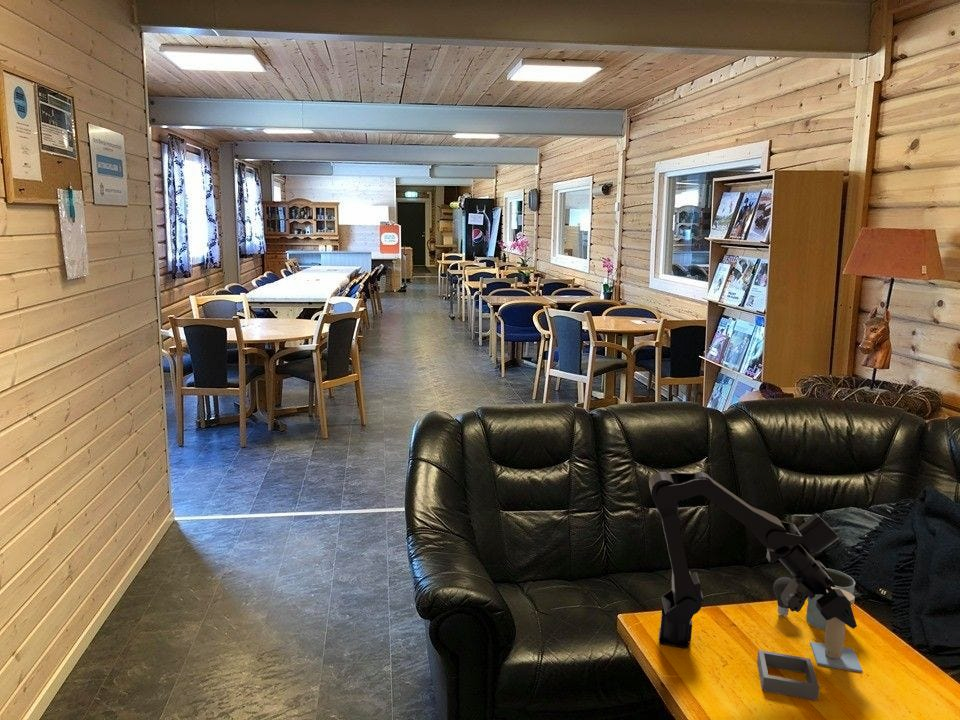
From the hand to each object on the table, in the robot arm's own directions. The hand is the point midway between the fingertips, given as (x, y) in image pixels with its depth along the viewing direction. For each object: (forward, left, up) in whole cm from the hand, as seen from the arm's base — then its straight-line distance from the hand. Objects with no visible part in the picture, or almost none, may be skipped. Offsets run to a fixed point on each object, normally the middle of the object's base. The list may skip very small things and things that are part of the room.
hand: (847, 616), depth 160 cm
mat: (-1, 0, -10) cm, 10 cm away
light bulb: (-10, +16, -10) cm, 22 cm away
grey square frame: (-13, -13, -10) cm, 21 cm away
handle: (-2, -1, -10) cm, 10 cm away
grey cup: (0, +16, -10) cm, 19 cm away
